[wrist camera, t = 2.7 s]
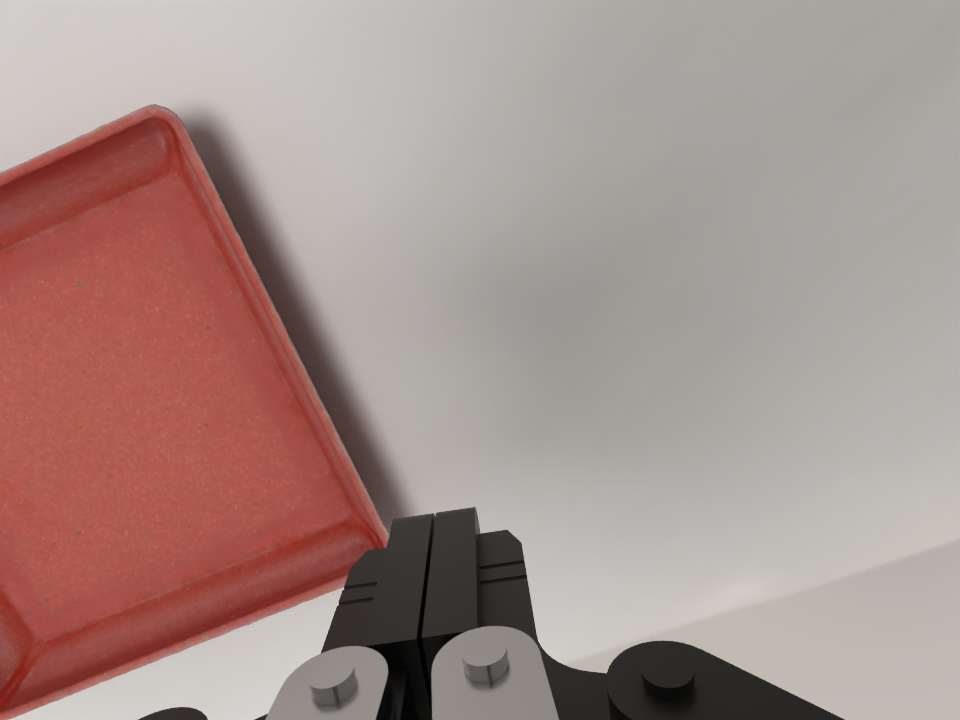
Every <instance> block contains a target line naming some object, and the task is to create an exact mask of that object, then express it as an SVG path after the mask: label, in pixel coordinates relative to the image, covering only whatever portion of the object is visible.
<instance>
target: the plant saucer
mask: <svg viewBox="0 0 960 720" xmlns="http://www.w3.org/2000/svg"><path fill="white" fill-rule="evenodd" d="M388 539H389V533H388V531H387V529H386V527H385V526H384V524H383V522H382V520H381V518H380V516H379V514H378V512H377V510H376V508H375V506H374V504H373V502H372V500H371V498H370V496H369V494H368V492H367V490H366V488H365V486H364V484H363V482H362V480H361V478H360V476H359V474H358V472H357V470H356V468H355V466H354V464H353V462H352V460H351V458H350V456H349V454H348V452H347V450H346V448H345V446H344V444H343V442H342V440H341V438H340V436H339V434H338V432H337V430H336V428H335V426H334V424H333V422H332V420H331V418H330V416H329V414H328V412H327V410H326V408H325V406H324V404H323V402H322V400H321V399H320V397H319V395H318V393H317V391H316V388H315V386H314V384H313V382H312V380H311V378H310V377H309V374H308V372H307V370H306V368H305V366H304V364H303V362H302V360H301V358H300V356H299V354H298V352H297V350H296V348H295V346H294V344H293V342H292V340H291V338H290V336H289V334H288V332H287V330H286V327H285V325H284V323H283V322H282V320H281V318H280V316H279V314H278V312H277V310H276V308H275V306H274V304H273V302H272V300H271V298H270V296H269V294H268V292H267V290H266V288H265V286H264V284H263V282H262V280H261V278H260V276H259V274H258V272H257V270H256V268H255V266H254V264H253V262H252V260H251V258H250V256H249V254H248V252H247V250H246V248H245V246H244V244H243V242H242V239H241V237H240V235H239V234H238V232H237V230H236V228H235V226H234V224H233V222H232V220H231V218H230V216H229V214H228V212H227V210H226V208H225V206H224V204H223V202H222V200H221V198H220V196H219V194H218V192H217V190H216V188H215V185H214V183H213V181H212V179H211V177H210V175H209V173H208V171H207V169H206V167H205V165H204V163H203V161H202V159H201V157H200V155H199V153H198V152H197V149H196V147H195V145H194V143H193V141H192V139H191V137H190V135H189V134H188V132H187V130H186V128H185V126H184V124H183V122H182V121H181V119H180V118H179V117H178V116H177V114H175V113H174V112H173V111H171V110H170V109H168V108H165V107H161V106H158V105H155V104H154V105H150V106H146V107H144V108H141V109H138V110H136V111H134V112H132V113H130V114H128V115H125V116H123V117H121V118H119V119H117V120H115V121H112V122H110V123H108V124H105V125H102V126H100V127H99V128H97V129H95V130H93V131H91V132H89V133H87V134H84V135H82V136H80V137H77V138H75V139H73V140H71V141H69V142H67V143H65V144H63V145H61V146H59V147H56V148H54V149H52V150H50V151H48V152H46V153H43V154H41V155H39V156H37V157H35V158H33V159H31V160H29V161H26V162H24V163H22V164H20V165H17V166H15V167H13V168H10V169H8V170H5V171H3V172H1V173H0V720H8V719H11V718H14V717H17V716H19V715H22V714H24V713H27V712H29V711H31V710H34V709H36V708H39V707H41V706H44V705H46V704H48V703H51V702H54V701H58V700H60V699H62V698H64V697H66V696H69V695H72V694H74V693H77V692H79V691H81V690H84V689H86V688H89V687H91V686H94V685H96V684H98V683H101V682H103V681H106V680H109V679H112V678H114V677H116V676H119V675H121V674H124V673H127V672H129V671H131V670H134V669H137V668H139V667H142V666H144V665H147V664H149V663H152V662H155V661H157V660H159V659H162V658H164V657H167V656H169V655H172V654H175V653H178V652H180V651H183V650H185V649H187V648H189V647H192V646H194V645H197V644H200V643H202V642H205V641H207V640H209V639H212V638H215V637H218V636H221V635H223V634H226V633H228V632H230V631H232V630H234V629H237V628H240V627H243V626H246V625H249V624H251V623H253V622H256V621H258V620H260V619H263V618H265V617H267V616H270V615H273V614H275V613H278V612H281V611H284V610H286V609H289V608H291V607H294V606H296V605H298V604H300V603H302V602H305V601H309V600H312V599H314V598H316V597H319V596H321V595H324V594H326V593H329V592H332V591H334V590H337V589H340V588H343V587H344V585H345V582H346V580H347V577H348V574H349V571H350V568H351V567H352V566H353V565H354V564H355V563H356V562H357V561H358V560H359V559H360V558H361V557H362V556H363V554H364V553H365V552H366V551H367V550H373V549H380V548H386V547H387V543H388Z"/></svg>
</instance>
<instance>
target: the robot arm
mask: <svg viewBox="0 0 960 720" xmlns="http://www.w3.org/2000/svg"><path fill="white" fill-rule="evenodd" d="M139 720H208V719H207V717H206V716H205V715H204V714H203V713H202V712H201V711H199V710H197V709H193V708H188V707H178V708H170V709H166V710H161V711H158V712H155V713H152V714H150V715H148V716H145V717H143V718H141V719H139ZM255 720H844V719H842V718H840V717H838V716H836V715H834V714H832V713H830V712H828V711H826V710H824V709H822V708H820V707H818V706H815V705H814V704H812V703H810V702H807V701H805V700H803V699H801V698H799V697H797V696H795V695H793V694H791V693H789V692H787V691H785V690H783V689H781V688H779V687H777V686H775V685H773V684H771V683H769V682H767V681H765V680H763V679H760V678H758V677H756V676H754V675H752V674H750V673H748V672H746V671H744V670H742V669H740V668H738V667H736V666H734V665H732V664H730V663H728V662H726V661H724V660H722V659H720V658H718V657H716V656H713V655H711V654H710V653H707V652H705V651H703V650H701V649H699V648H696V647H694V646H691V645H688V644H684V643H679V642H673V641H651V642H646V643H641V644H638V645H635V646H633V647H631V648H629V649H626V650H625V651H623V652H622V653H621V654H619V655H618V656H617V657H616V658H615V659H614V660H613V662H612V663H611V665H610V666H609V669H608V672H607V674H605V673H597V672H588V671H582V670H577V669H573V668H570V667H568V666H565V665H563V664H561V663H559V662H557V661H556V660H554V659H553V658H551V657H550V656H549V655H548V654H547V653H546V652H545V651H544V650H543V649H542V647H541V645H540V644H539V642H538V639H537V635H536V629H535V623H534V617H533V611H532V605H531V599H530V593H529V587H528V581H527V574H526V568H525V563H524V556H523V550H522V544H521V542H520V541H519V540H518V539H517V538H516V537H514V536H513V535H512V534H511V533H510V532H509V531H508V530H503V531H496V532H489V533H482V534H480V528H479V522H478V516H477V511H476V508H475V507H473V508H466V509H459V510H452V511H445V512H439V513H436V517H435V515H434V513H433V514H426V515H419V516H412V517H405V518H398V519H394V520H393V524H392V527H391V531H390V535H389V539H388V543H387V547H386V548H380V549H373V550H367V551H366V552H365V553H364V554H363V556H362V557H361V558H360V559H359V560H358V561H357V562H356V563H355V564H354V565H353V566H352V567H351V568H350V571H349V574H348V577H347V580H346V582H345V585H344V590H343V591H342V594H341V597H340V600H339V606H337V608H336V611H335V614H334V617H333V620H332V623H331V626H330V628H329V631H328V634H327V637H326V640H325V643H324V646H323V649H322V651H321V654H319V655H317V656H315V657H313V658H311V659H310V660H308V661H306V662H305V663H303V664H302V665H301V666H300V667H298V668H297V669H296V670H295V671H294V672H293V673H292V674H291V675H290V676H289V677H288V678H287V680H286V681H285V682H284V684H283V686H282V687H281V689H280V691H279V693H278V695H277V697H276V699H275V701H274V703H273V705H272V707H271V709H270V711H269V713H268V714H266V715H264V716H262V717H260V718H257V719H255Z"/></svg>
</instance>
